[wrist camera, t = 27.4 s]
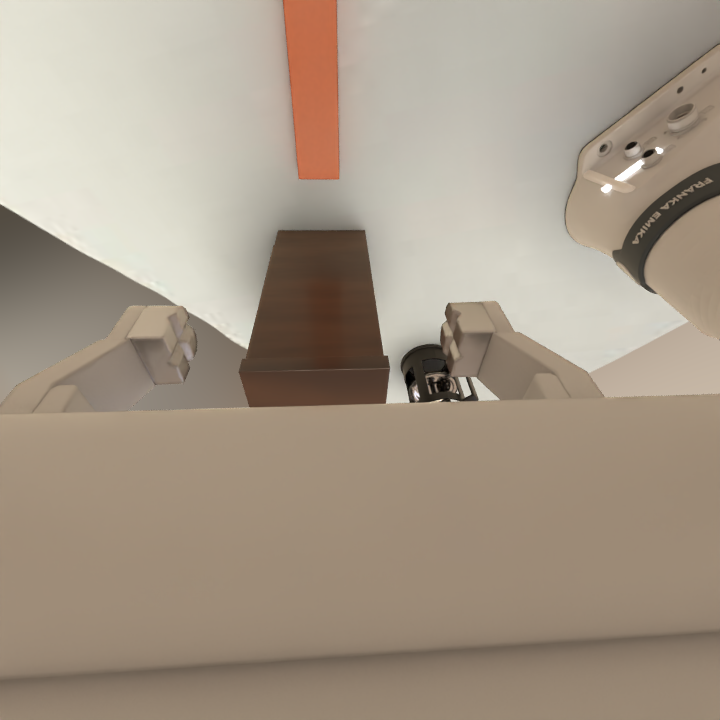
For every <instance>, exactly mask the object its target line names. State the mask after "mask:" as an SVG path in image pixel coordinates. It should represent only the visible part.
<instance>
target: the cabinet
mask: <svg viewBox="0 0 720 720" xmlns="http://www.w3.org/2000/svg"><path fill="white" fill-rule="evenodd" d="M389 372H390V366H389V360H388V356H384V354H383V348H382V341H381V334H380V328H379V321H378V314H377V308H376V301H375V294H374V288H373V281H372V274H371V268H370V261H369V254H368V248H367V241H366V234H365V230H326V231H278V233H277V237H276V241H275V245H273V249H272V253H271V257H270V261H269V266H268V270H267V274H266V278H265V282H264V286H263V290H262V294H261V298H260V302H259V306H258V310H257V314H256V318H255V323H254V327H253V331H252V335H251V339H250V343H249V347H248V352H247V356H246V359H242V361H241V365H240V369H239V374H240V377H241V380H242V384H243V387H244V390H245V394H246V397H247V400H248V404H249V407H286V406H320V405H353V404H386V398H387V389H388V380H389Z"/></svg>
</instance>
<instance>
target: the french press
mask: <svg viewBox="0 0 720 720" xmlns="http://www.w3.org/2000/svg"><path fill="white" fill-rule="evenodd" d="M430 359H440V360H444V361H446V360H447V355H446V354H444V353H443V351H442V348H441V346H439V345H434V344H430V345H422V346H419V347H417V348H414V349H413V350H411V351H410V352H408V353H407V354H406V355H405V357H404V358H403V360H402V362H401V371H402V373H403V375H404V380H405V383H406V386H407V391H408V396H409V401H410V403H415V402H416V403H425V402H451V401H450V399H454V400H458V401H460V402H461V401H478V396H477V394H476V391H475V388H474V386H473V383H472V380H471V378H470V377H466V379H467V382H468V385H469V388H470V390H471V393H472V394H471V395H470V396H468V397H466V398H465V397H464V394H463V391H462V388H461V385H460V382H459V379H458V377H451V375H450V372H449V369H448V366H447V363H445V366H444V368H443V369H442V370H441V371H432V372H427V373H424V369H423V365H422V361H425V360H430ZM412 367H413V370H414V374H415V376H414V375H412V374H411V373H410V372H409V370H410V369H411V368H412ZM457 390H458V392H459V394H457V393H456V392H457Z"/></svg>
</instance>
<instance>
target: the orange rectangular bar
mask: <svg viewBox="0 0 720 720" xmlns="http://www.w3.org/2000/svg"><path fill="white" fill-rule="evenodd" d="M283 5H284V16H285V28H286V39H287V50H288V62H289V73H290V84H291V96H292V107H293V118H294V130H295V141H296V152H297V163H298V175H299V179H339V131H338V68H337V5H336V0H283Z"/></svg>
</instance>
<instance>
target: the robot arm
mask: <svg viewBox="0 0 720 720" xmlns="http://www.w3.org/2000/svg"><path fill="white" fill-rule="evenodd" d="M602 145H604V147H603V149H602V150H600V147H601V146H602ZM565 220H566V227H567V230H568V232H569V234H570V236H571V237H572V238H573V239H574V240H575V241H576V242H578V243H579V244H581V245H583V246H586V247H590V248H593V249H596V250H598V251H600V252H602V253H604V254H606V255H608V256H610V257H611V258H613V259H614V260H615V262H616V264H617V266H618V267H619V268H620V269H621V270H622V271H623V272H624V273H626V274H627V275H628V276H629V277H630V278H631V279H632V280H633V281H635V282H636V283H637V284H638V285H639V286H642V287H644V288H645V289H646V290H648V291H649V292H652V293H655V294H658V295H660V296H661V297H662V298H663V299H664V300H665V301H666V302H668V303H669V304H670V305H671V306H672V307H673V308H674V309H676V310H677V311H678V312H679V313H680V314H681V315H683V316H684V317H685V318H686V319H687V320H688V321H689V322H691V323H692V324H693V325H694V326H695V327H696V328H697V329H698V330H700V331H701V332H702V333H703V334H705V335H707V336H710V337H713V338H717V339H719V340H720V44H719V45H717V46H716V47H714V48H713V49H712V50H710V51H709V52H708V53H706V54H705V55H704V56H703V57H701V58H700V59H699V60H697V61H696V62H695V63H693V64H692V65H691V66H689V67H688V68H687V69H686V70H684V71H683V72H682V73H680V74H679V75H678V76H676V77H675V78H674V79H673V80H671V81H670V82H669V83H667V84H666V85H665V86H663V87H662V88H661V89H659V90H658V91H657V92H656V93H654V94H653V95H652V96H650V97H649V98H648V99H646V100H645V101H644V102H642V103H641V104H640V105H639V106H637V107H636V108H635V109H633V110H632V111H631V112H629V113H628V114H627V115H626V116H624V117H623V118H622V119H620V120H619V121H618V122H616V123H615V124H614V125H612V126H611V127H610V128H609V129H607V130H606V131H605V132H603V133H602V134H601V135H599V136H598V137H597V138H596V139H594V140H593V141H592V142H590V143H589V144H588V145H587V146H585V147H584V149H583V150H582V151H581V153H580V156H579V160H578V170H577V179H576V182H575V185H574V187H573V189H572V192H571V194H570V197H569V199H568V203H567V207H566V215H565ZM445 316H446V318H447V321H446V322H444V323H443V324H442V328H441V336H440V342H441V348H442V351H443V353H444V354H446V355H447V360H446V363H447V366H448V369H449V372H450V375H451V377H477V379H478V380H480V381H481V382H482V383H483V384H484V385H485V386H486V387H487V388H488V389H489V390H490V391H491V392H492V393H494V394H495V395H496V396H497V397H498V398H499V399H500V400H494V401H461V402H425V403H389V404H353V405H320V406H286V407H250V408H215V409H182V410H181V409H179V410H145V411H128V410H129V409H130V408H131V407H132V406H134V405H135V404H136V403H137V402H138V401H139V400H140V399H141V398H143V397H144V396H145V395H146V394H147V393H148V392H149V391H151V389H153V388H154V387H155V385H161V384H181V383H184V382H185V379H186V376H187V374H188V372H189V369H190V366H189V364H188V362H189V361H190V360H192V359H193V358H194V357H195V354H196V351H197V338H196V334H195V331H194V329H193V328H192V327H191V326H189V325H188V324H187V321H188V319H189V315H188V313H187V310H186V308H184V307H183V306H131V307H128V308H127V309H126V311H125V312H124V314H123V315H122V317H121V318H120V319H119V321H118V322H117V324H116V325H115V326H114V328H113V329H112V331H111V332H110V334H109V335H108V336H107V338H106V339H105V340H99V341H97V342H95V343H93V344H91V345H89V346H88V347H86V348H84V349H82V350H80V351H78V352H76V353H75V354H73V355H71V356H69V357H67V358H65V359H64V360H62V361H60V362H58V363H56V364H55V365H53V366H51V367H49V368H47V369H45V370H43V371H41V372H40V373H38V374H36V375H34V376H32V377H30V378H29V379H27V380H25V381H23V382H21V383H19V384H18V385H16V386H15V388H14V389H13V390H12V391H11V392H10V393H9V395H8V396H7V397H6V398H5V399H4V401H3V402H2V403H1V404H0V720H720V394H702V395H670V396H669V395H668V396H638V397H637V396H634V397H604V395H603V394H602V392H601V391H600V390H599V388H598V387H597V385H596V384H595V383H594V381H593V380H592V378H591V377H590V376H589V374H588V372H587V371H585V370H583V369H582V368H580V367H578V366H576V365H575V364H573V363H571V362H570V361H568V360H566V359H564V358H563V357H561V356H559V355H558V354H556V353H554V352H553V351H551V350H549V349H547V348H546V347H544V346H542V345H541V344H539V343H537V342H535V341H534V340H532V339H530V338H529V337H527V336H525V335H523V334H522V333H520V332H515V331H514V330H513V328H512V326H511V324H510V323H509V321H508V319H507V318H506V316H505V314H504V312H503V311H502V309H501V307H500V305H499V304H498V302H496V301H483V302H461V303H448V305H447V307H446V310H445Z"/></svg>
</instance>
